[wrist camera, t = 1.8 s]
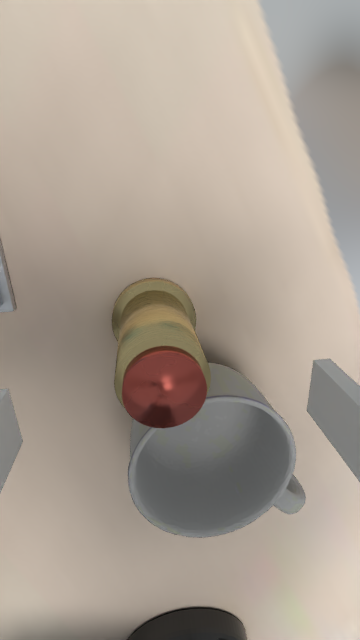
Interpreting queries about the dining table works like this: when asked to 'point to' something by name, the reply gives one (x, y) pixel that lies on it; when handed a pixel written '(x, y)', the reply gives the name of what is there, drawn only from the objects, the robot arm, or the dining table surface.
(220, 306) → the dining table surface
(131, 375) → the cylinder
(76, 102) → the dining table surface
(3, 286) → the flange seat
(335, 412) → the robot arm
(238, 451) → the teacup
